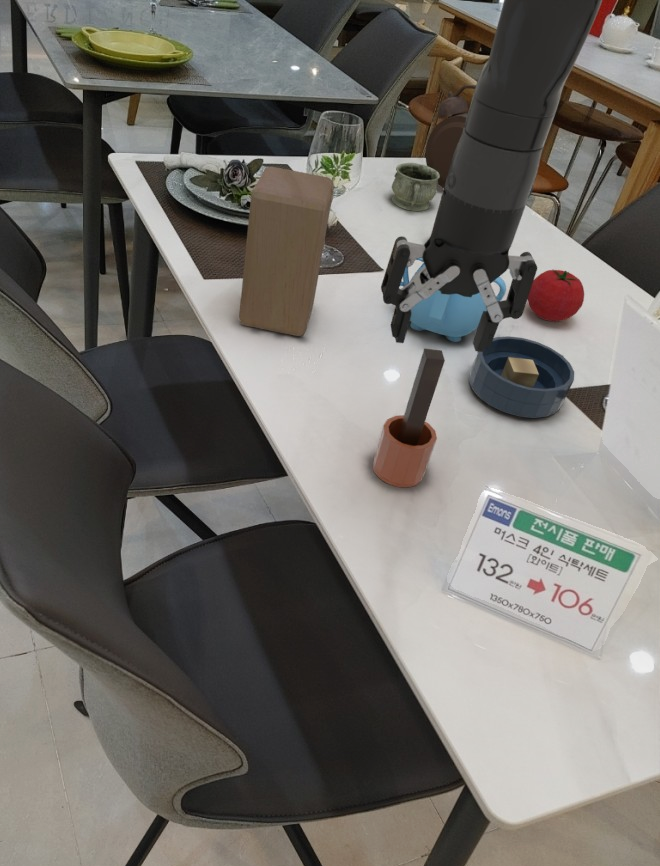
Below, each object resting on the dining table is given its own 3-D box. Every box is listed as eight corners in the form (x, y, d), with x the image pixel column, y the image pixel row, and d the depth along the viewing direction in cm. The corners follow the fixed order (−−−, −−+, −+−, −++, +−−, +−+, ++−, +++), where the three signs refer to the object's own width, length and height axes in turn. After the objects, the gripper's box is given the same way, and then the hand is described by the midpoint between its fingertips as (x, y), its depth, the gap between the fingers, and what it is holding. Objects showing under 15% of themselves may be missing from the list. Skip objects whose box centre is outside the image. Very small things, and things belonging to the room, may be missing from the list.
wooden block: (313, 307, 119) (336, 176, 105) (303, 340, 111) (327, 204, 98) (250, 294, 119) (264, 162, 105) (236, 326, 112) (250, 189, 98)
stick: (406, 462, 93) (442, 350, 82) (408, 473, 92) (445, 360, 81) (390, 461, 93) (424, 348, 82) (391, 471, 92) (426, 358, 81)
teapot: (480, 368, 112) (507, 295, 104) (372, 335, 115) (390, 261, 107) (501, 309, 126) (527, 240, 117) (405, 281, 129) (423, 212, 120)
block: (523, 381, 110) (532, 359, 107) (529, 395, 107) (539, 374, 105) (499, 378, 109) (508, 356, 107) (505, 393, 107) (513, 371, 104)
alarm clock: (490, 200, 160) (523, 95, 146) (473, 208, 155) (506, 101, 141) (431, 176, 165) (458, 73, 152) (413, 183, 161) (439, 78, 147)
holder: (419, 455, 95) (432, 417, 91) (426, 490, 91) (440, 451, 87) (370, 451, 95) (381, 412, 91) (375, 485, 90) (386, 446, 86)
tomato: (572, 335, 122) (593, 290, 117) (518, 320, 124) (536, 275, 118) (574, 311, 129) (594, 266, 123) (523, 297, 130) (540, 252, 124)
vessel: (389, 188, 157) (396, 156, 153) (431, 195, 157) (439, 164, 153) (388, 211, 149) (395, 178, 144) (433, 219, 149) (442, 186, 144)
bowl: (547, 371, 114) (559, 341, 110) (571, 425, 104) (586, 395, 101) (460, 361, 113) (471, 331, 109) (477, 416, 103) (489, 385, 100)
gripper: (551, 183, 73) (495, 332, 84) (405, 163, 71) (368, 317, 83) (573, 216, 67) (510, 371, 78) (415, 195, 66) (374, 355, 77)
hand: (437, 343), depth 81 cm, fingers open, 8 cm apart
